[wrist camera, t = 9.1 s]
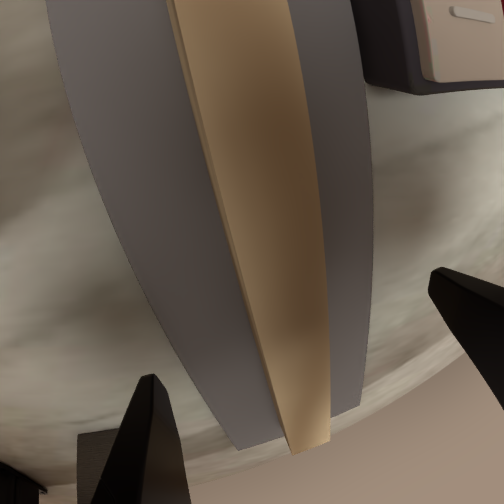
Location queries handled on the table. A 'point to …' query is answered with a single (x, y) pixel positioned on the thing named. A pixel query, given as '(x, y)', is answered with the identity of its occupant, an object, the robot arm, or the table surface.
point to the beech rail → (264, 192)
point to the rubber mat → (202, 196)
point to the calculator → (431, 44)
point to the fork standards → (91, 461)
